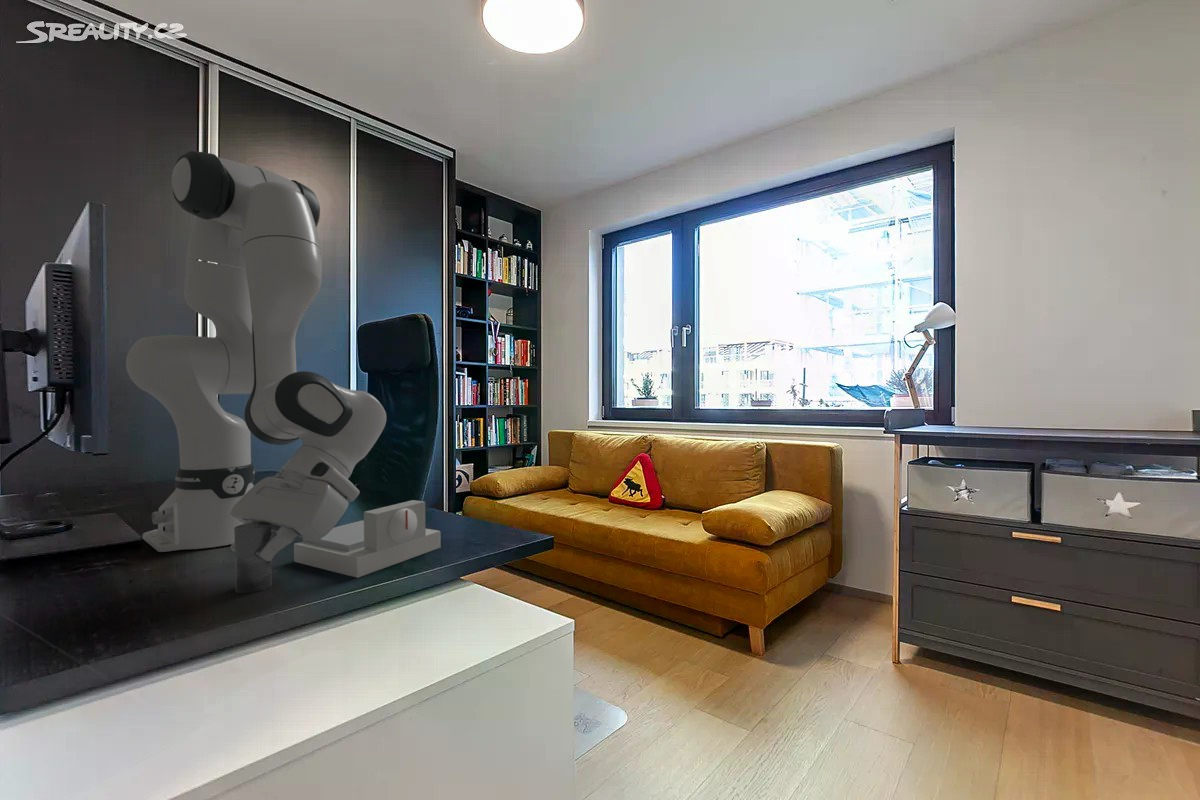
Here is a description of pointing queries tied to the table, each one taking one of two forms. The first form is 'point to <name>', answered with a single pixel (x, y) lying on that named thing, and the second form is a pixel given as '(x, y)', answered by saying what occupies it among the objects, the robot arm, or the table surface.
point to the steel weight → (251, 558)
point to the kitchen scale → (372, 541)
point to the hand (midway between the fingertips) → (248, 555)
